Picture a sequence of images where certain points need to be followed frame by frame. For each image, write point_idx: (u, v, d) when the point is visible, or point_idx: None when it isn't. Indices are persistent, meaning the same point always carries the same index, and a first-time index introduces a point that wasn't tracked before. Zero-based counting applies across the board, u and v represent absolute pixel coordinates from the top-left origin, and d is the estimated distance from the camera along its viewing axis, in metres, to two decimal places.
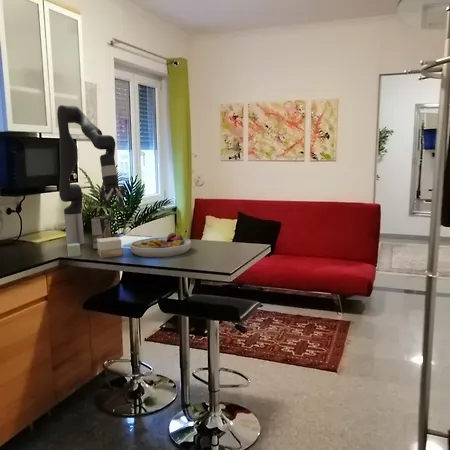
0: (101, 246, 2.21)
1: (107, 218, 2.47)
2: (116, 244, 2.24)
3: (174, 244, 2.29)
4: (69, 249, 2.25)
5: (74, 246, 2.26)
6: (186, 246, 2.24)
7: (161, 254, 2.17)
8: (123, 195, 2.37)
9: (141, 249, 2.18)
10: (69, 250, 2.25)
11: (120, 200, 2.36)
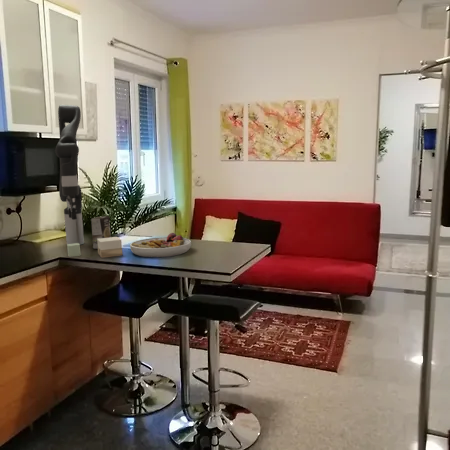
0: (101, 246, 2.21)
1: (107, 218, 2.47)
2: (116, 244, 2.24)
3: (174, 244, 2.29)
4: (69, 249, 2.25)
5: (74, 246, 2.26)
6: (186, 246, 2.24)
7: (161, 254, 2.17)
8: None
9: (141, 249, 2.18)
10: (69, 250, 2.25)
11: None
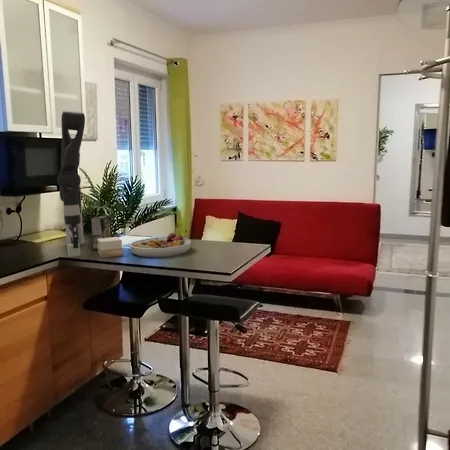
0: (102, 246, 2.21)
1: (107, 218, 2.47)
2: (117, 244, 2.24)
3: (174, 244, 2.29)
4: (69, 249, 2.25)
5: None
6: (186, 246, 2.24)
7: (161, 254, 2.17)
8: None
9: (141, 249, 2.18)
10: (69, 250, 2.25)
11: None
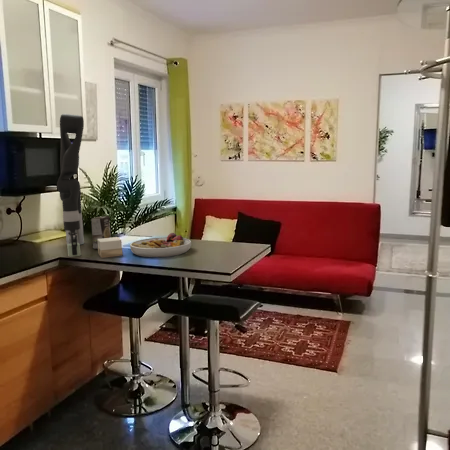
0: (101, 246, 2.21)
1: (107, 218, 2.47)
2: (116, 244, 2.24)
3: (174, 244, 2.29)
4: (69, 249, 2.25)
5: None
6: (186, 246, 2.24)
7: (161, 254, 2.17)
8: (72, 245, 2.23)
9: (141, 249, 2.18)
10: (69, 250, 2.25)
11: None
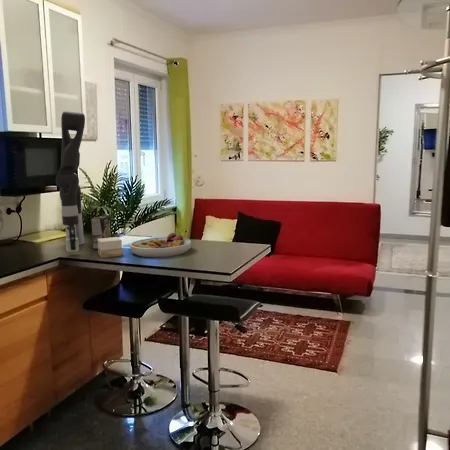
0: (101, 246, 2.21)
1: (107, 218, 2.47)
2: (116, 244, 2.24)
3: (174, 244, 2.29)
4: (68, 244, 2.25)
5: None
6: (186, 246, 2.24)
7: (161, 254, 2.17)
8: None
9: (141, 249, 2.18)
10: (67, 245, 2.25)
11: None
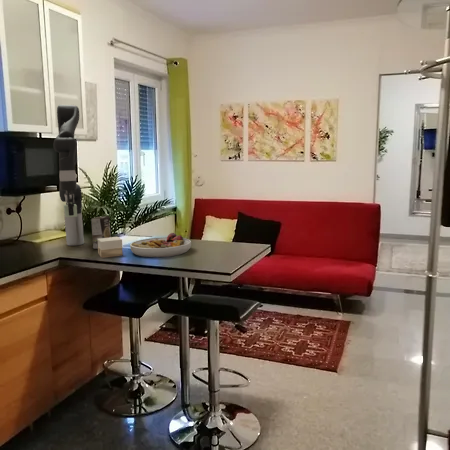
0: (102, 246, 2.21)
1: (107, 218, 2.47)
2: (117, 243, 2.24)
3: (174, 244, 2.29)
4: (66, 209, 2.22)
5: None
6: (186, 246, 2.24)
7: (161, 254, 2.17)
8: None
9: (141, 249, 2.18)
10: (66, 210, 2.22)
11: None
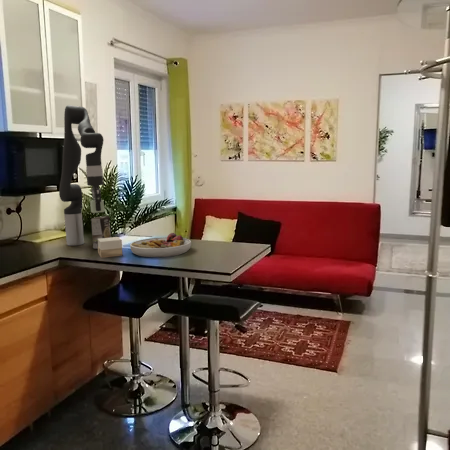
0: (102, 246, 2.21)
1: (107, 218, 2.47)
2: (117, 244, 2.24)
3: (174, 244, 2.29)
4: (93, 205, 2.21)
5: None
6: (186, 246, 2.24)
7: (161, 254, 2.17)
8: None
9: (141, 249, 2.18)
10: (93, 206, 2.21)
11: None
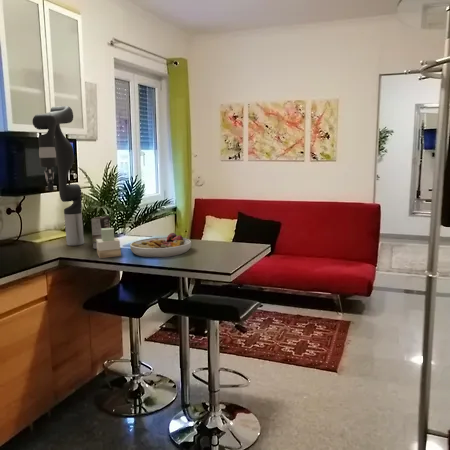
0: (99, 247, 2.20)
1: (107, 218, 2.47)
2: (114, 244, 2.23)
3: (174, 244, 2.29)
4: (103, 233, 2.22)
5: (108, 230, 2.23)
6: (186, 246, 2.24)
7: (161, 254, 2.17)
8: None
9: (141, 249, 2.18)
10: (103, 234, 2.22)
11: None
